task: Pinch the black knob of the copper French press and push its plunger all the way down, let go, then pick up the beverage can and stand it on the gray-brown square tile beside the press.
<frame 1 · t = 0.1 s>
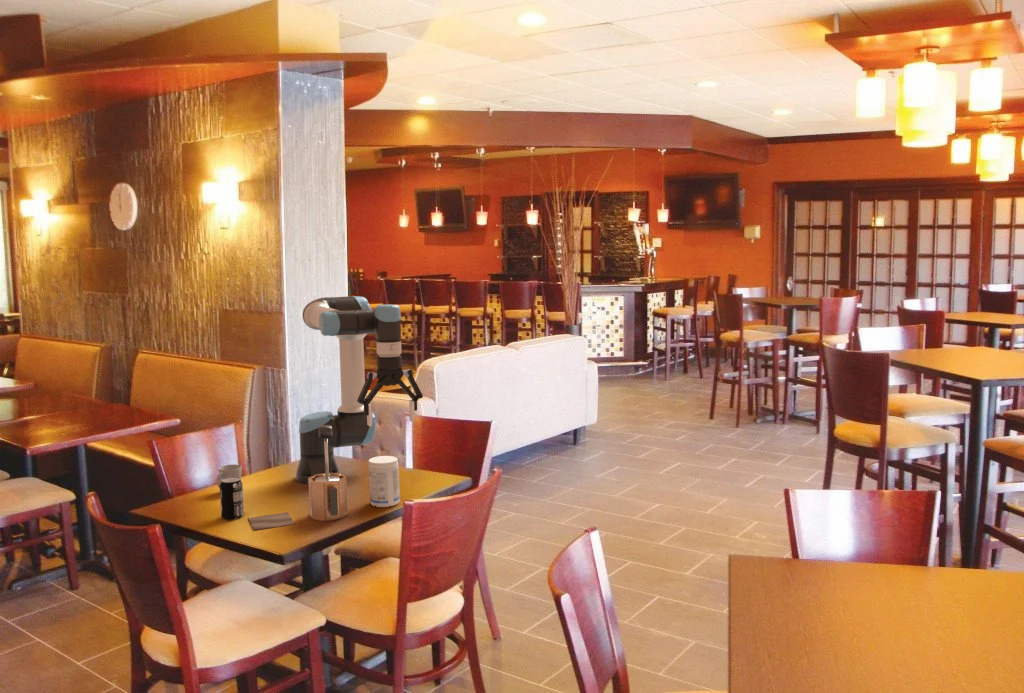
hand: (391, 423, 260), 28 cm above the table, fingers open, 13 cm apart
plunger: (326, 454, 258), point 19 cm above the table, slide at 0.0 cm
cup: (229, 493, 286), on the table
press carafe: (328, 515, 260), on the table
gray-brown square tile: (271, 521, 255), on the table
supplement tub: (384, 504, 272), on the table
beverage can: (232, 517, 260), on the table
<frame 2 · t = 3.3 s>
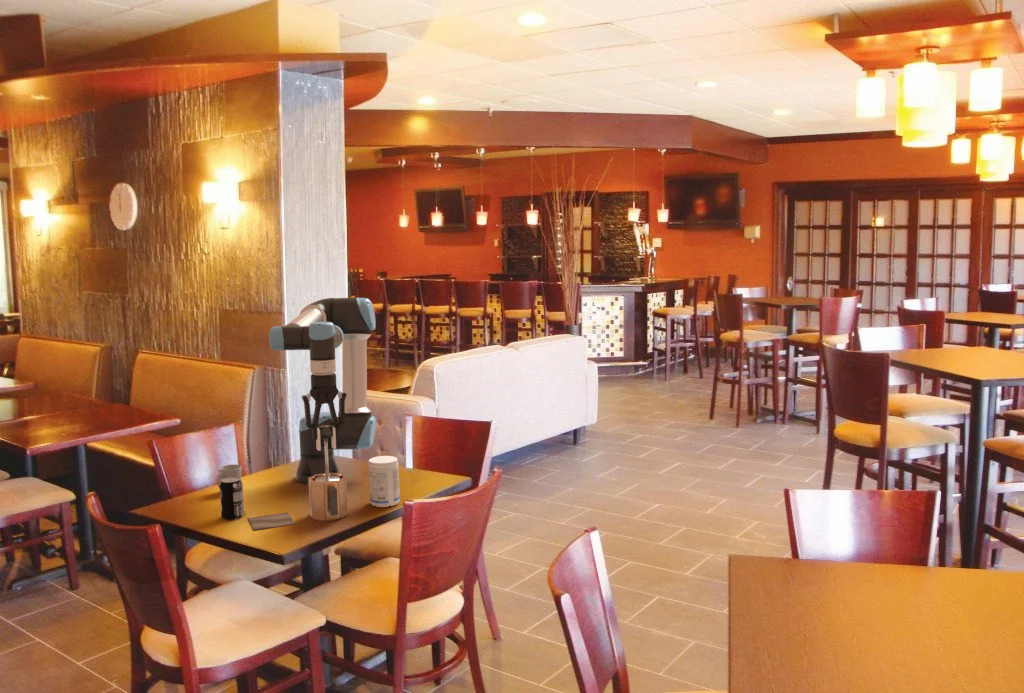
hand: (326, 448, 258), 21 cm above the table, fingers closed on plunger, 4 cm apart
plunger: (326, 454, 258), point 19 cm above the table, slide at 0.0 cm, touching gripper
everything else where it was.
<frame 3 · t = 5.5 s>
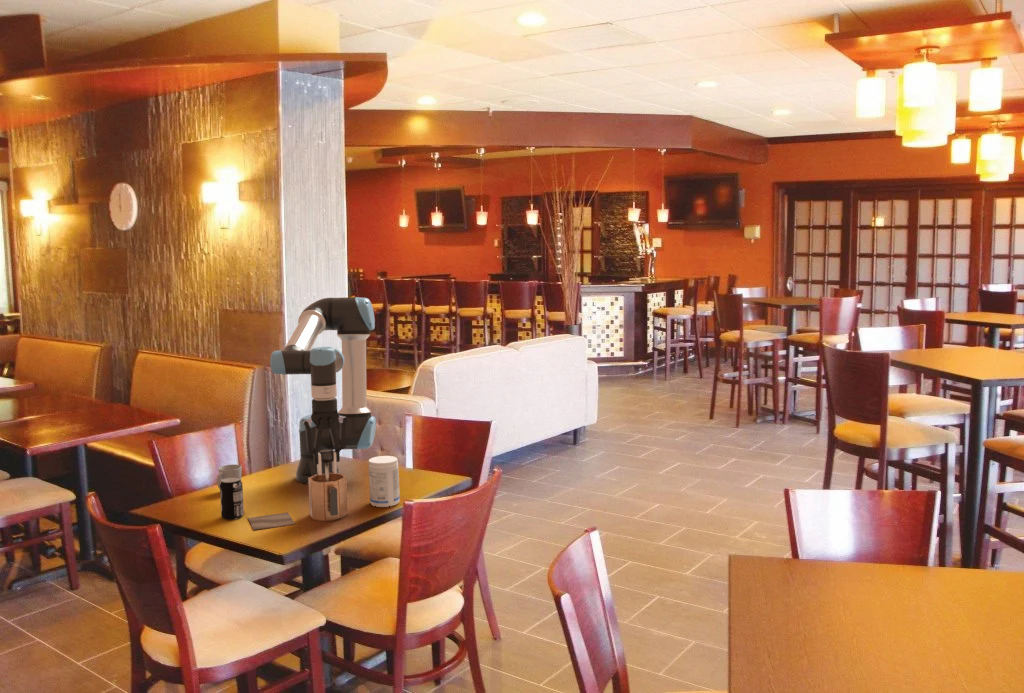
hand: (327, 473, 259), 13 cm above the table, fingers closed on plunger, 4 cm apart
plunger: (327, 478, 259), point 12 cm above the table, slide at 7.7 cm, touching gripper
everything else where it was.
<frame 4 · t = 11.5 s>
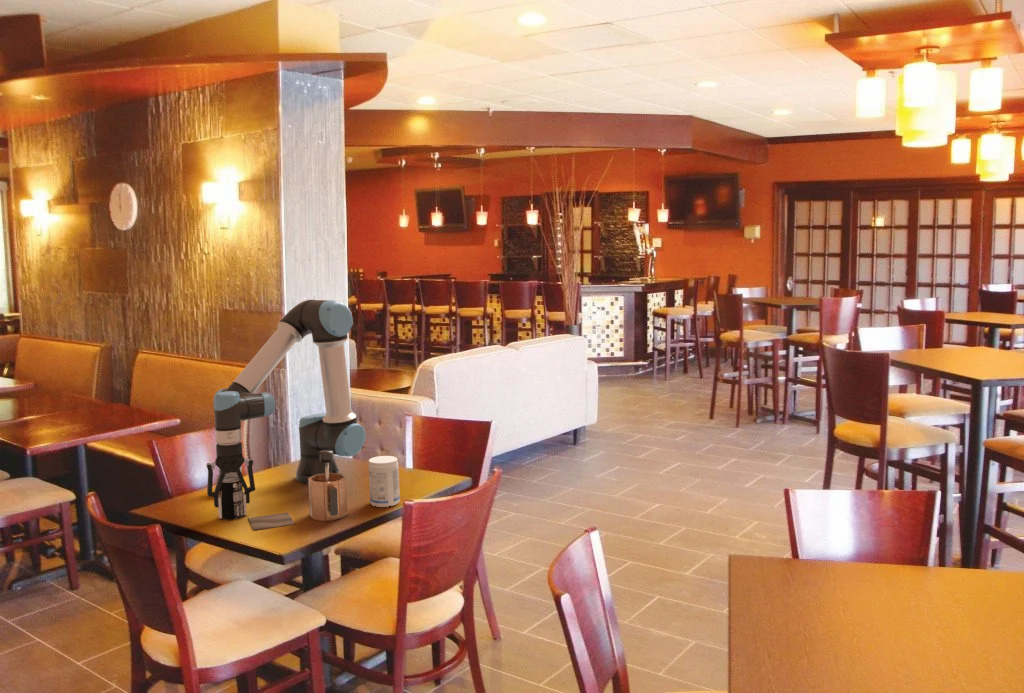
hand: (232, 515, 260), 1 cm above the table, fingers closed on beverage can, 7 cm apart
plunger: (327, 478, 259), point 12 cm above the table, slide at 7.7 cm
beverage can: (232, 517, 260), on the table, touching gripper
everything else where it was.
when the fingers open (1 cm above the table, at t = 17.9 s): beverage can stays where it is, resting on gray-brown square tile.
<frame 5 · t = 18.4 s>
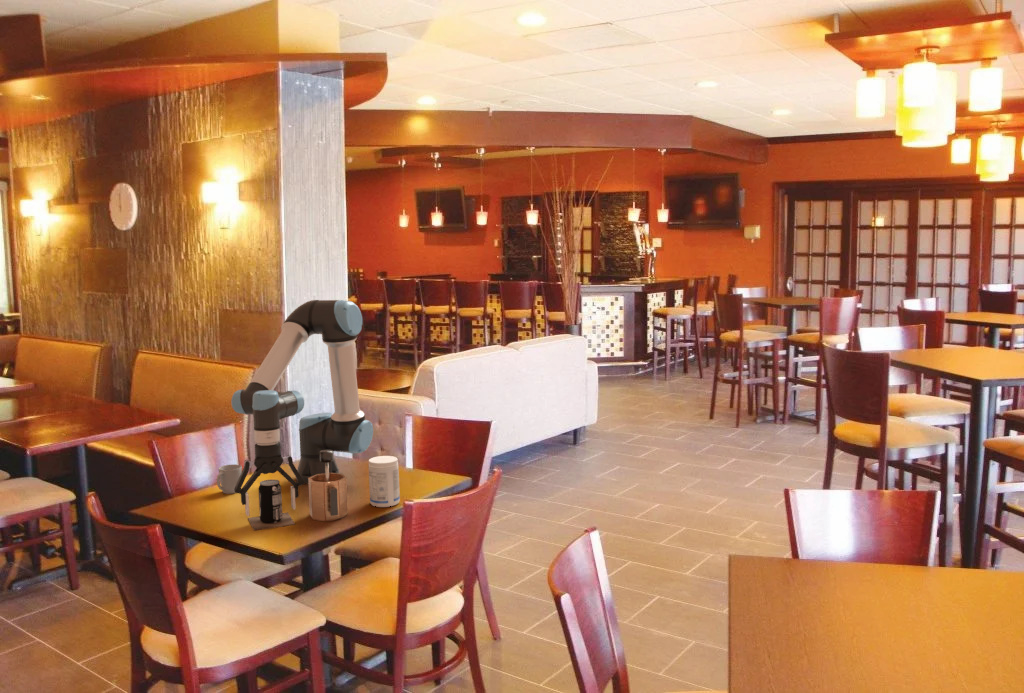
hand: (270, 511, 255), 3 cm above the table, fingers open, 13 cm apart
beverage can: (271, 521, 255), resting on gray-brown square tile
everything else where it was.
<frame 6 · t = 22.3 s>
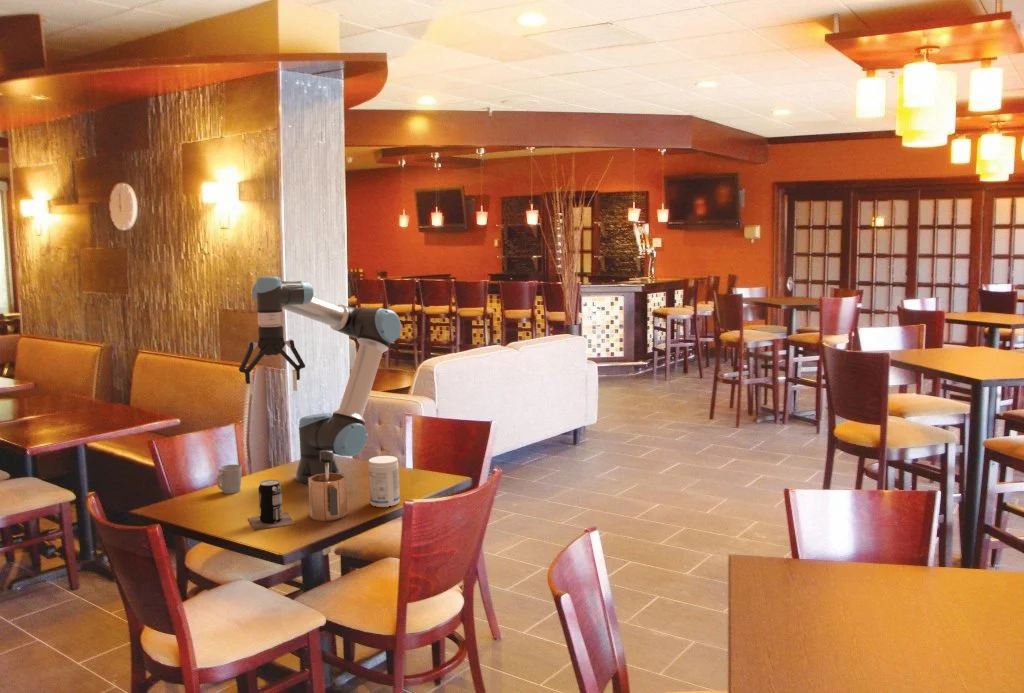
hand: (273, 392, 268), 37 cm above the table, fingers open, 13 cm apart
nothing on the table moved.
at the end: plunger slide at 7.7 cm; beverage can 0.1 cm from the gray-brown square tile (horizontally); beverage can tilted 0° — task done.
